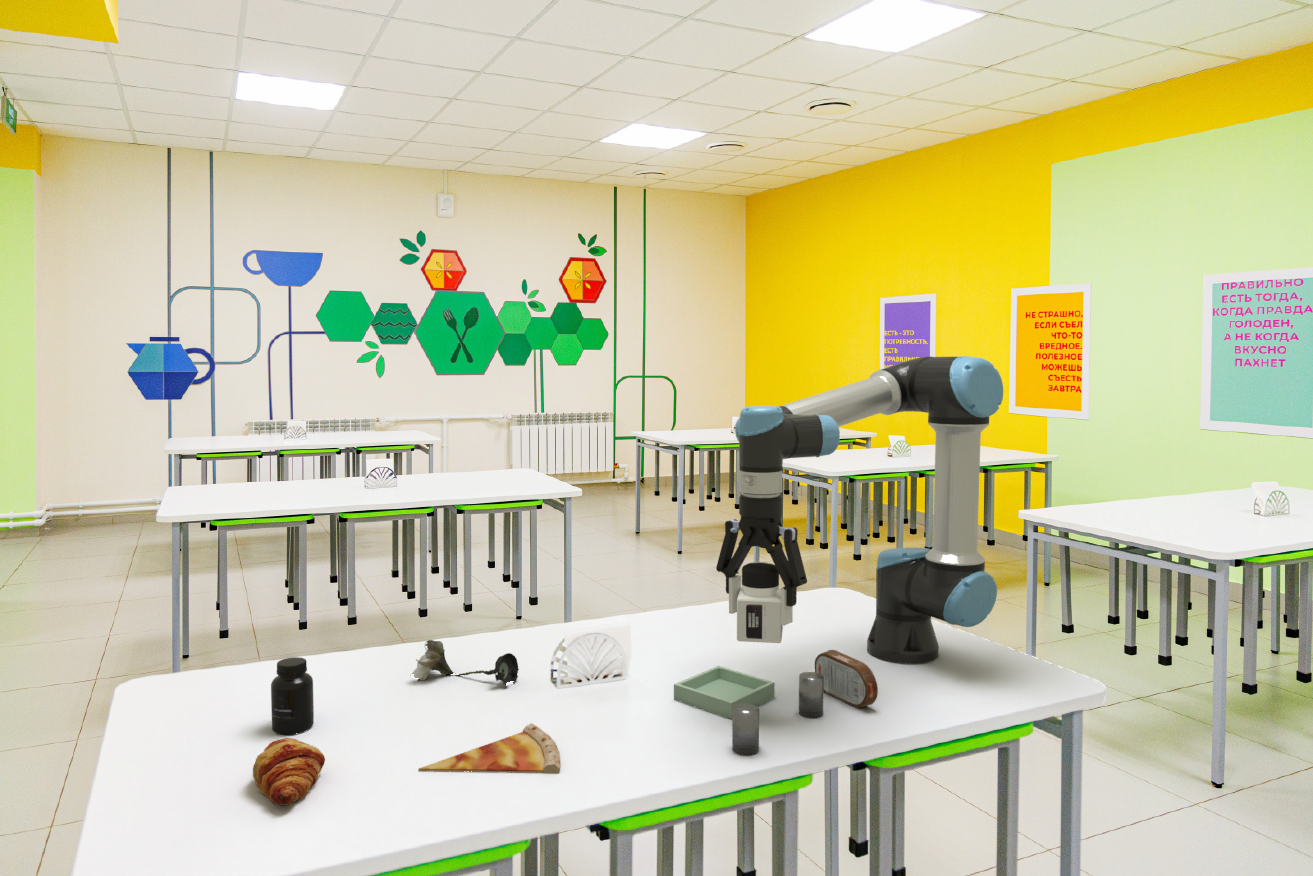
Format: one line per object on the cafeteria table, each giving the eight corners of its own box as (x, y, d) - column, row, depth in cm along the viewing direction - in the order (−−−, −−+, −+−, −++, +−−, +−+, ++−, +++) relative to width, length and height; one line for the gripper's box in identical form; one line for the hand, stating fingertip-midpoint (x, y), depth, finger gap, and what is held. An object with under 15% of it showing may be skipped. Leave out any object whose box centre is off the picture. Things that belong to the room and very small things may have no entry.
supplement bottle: (273, 739, 150) (270, 670, 149) (270, 724, 156) (267, 658, 155) (316, 731, 153) (314, 664, 152) (312, 717, 159) (309, 652, 158)
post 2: (807, 707, 164) (807, 670, 163) (827, 713, 161) (828, 676, 160) (793, 714, 160) (794, 676, 160) (814, 720, 157) (815, 682, 157)
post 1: (742, 741, 149) (743, 701, 148) (764, 749, 146) (764, 708, 145) (726, 750, 146) (727, 709, 145) (748, 758, 143) (748, 716, 142)
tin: (878, 711, 162) (879, 666, 161) (865, 715, 160) (866, 670, 159) (823, 685, 175) (824, 644, 174) (811, 688, 173) (811, 646, 172)
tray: (718, 680, 177) (718, 665, 177) (774, 697, 168) (774, 682, 168) (673, 699, 167) (673, 684, 167) (731, 719, 158) (731, 703, 158)
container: (781, 644, 153) (781, 570, 152) (736, 641, 154) (736, 568, 153) (782, 630, 160) (783, 560, 159) (740, 628, 162) (740, 558, 160)
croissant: (270, 777, 144) (243, 739, 142) (327, 739, 147) (301, 702, 145) (269, 839, 124) (238, 796, 123) (335, 794, 128) (305, 751, 126)
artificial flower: (501, 701, 170) (487, 657, 167) (408, 697, 179) (394, 654, 177) (523, 674, 178) (510, 631, 175) (434, 671, 187) (420, 630, 184)
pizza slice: (445, 731, 154) (445, 720, 154) (572, 733, 153) (572, 722, 153) (418, 774, 138) (418, 761, 138) (559, 776, 138) (559, 764, 137)
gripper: (696, 490, 159) (696, 610, 161) (806, 503, 145) (804, 635, 147) (720, 485, 165) (720, 601, 167) (828, 498, 150) (827, 624, 152)
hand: (760, 617), depth 157 cm, fingers closed on container, 10 cm apart
